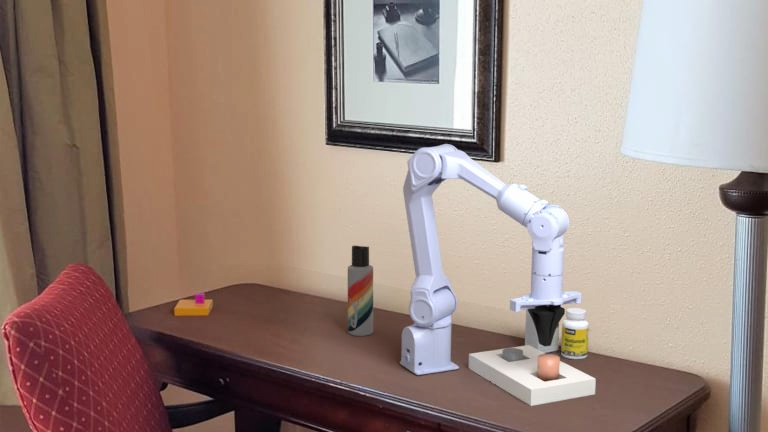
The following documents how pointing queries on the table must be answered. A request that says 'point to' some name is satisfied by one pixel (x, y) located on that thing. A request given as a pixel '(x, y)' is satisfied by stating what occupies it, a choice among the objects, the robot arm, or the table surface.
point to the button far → (512, 354)
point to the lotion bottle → (360, 293)
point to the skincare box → (532, 336)
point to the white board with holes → (531, 377)
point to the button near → (548, 367)
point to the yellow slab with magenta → (194, 306)
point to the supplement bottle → (575, 334)
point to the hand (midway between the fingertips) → (544, 344)
